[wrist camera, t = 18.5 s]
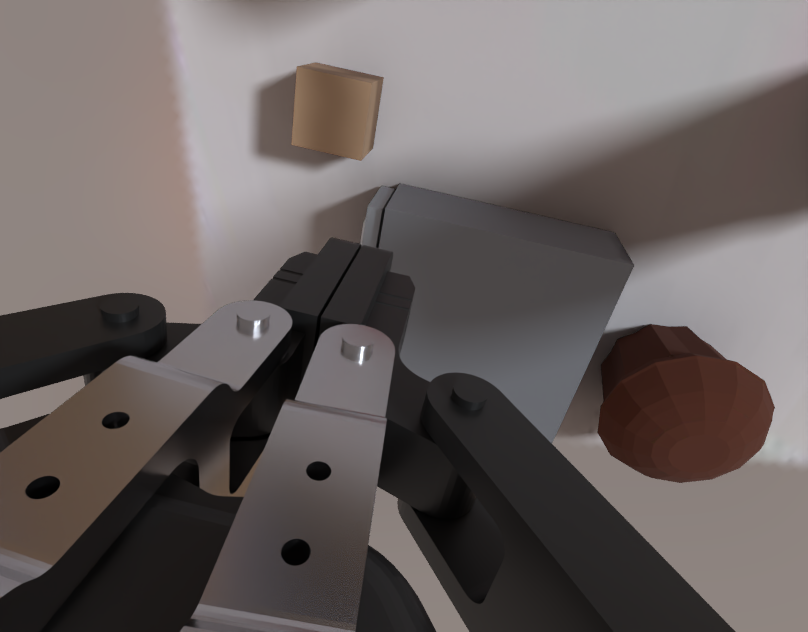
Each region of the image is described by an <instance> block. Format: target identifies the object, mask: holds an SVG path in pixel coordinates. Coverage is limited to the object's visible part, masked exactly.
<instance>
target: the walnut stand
mask: <svg viewBox="0 0 808 632" xmlns="http://www.w3.org/2000/svg"><path fill="white" fill-rule="evenodd" d="M382 84H383V77H379V76H374V75H370V74H365V73H361V72H356V71H352V70H347V69H343V68H338V67H334V66H329V65H325V64H320V63H311V64H307V65H302V66H297V71H296V86H295V100H294V115H293V129H292V144H291V145H294V146H299V147H303V148H307V149H312V150H316V151H321V152H325V153H329V154H334V155H338V156H343V157H347V158H351V159H356V160H360V161H361V160H362V159H363V158H364V157H365V156H366V155H367V154H368V153H369V152H370V151H371V150H372V149H373V144H374V138H375V131H376V124H377V118H378V111H379V104H380V98H381V91H382Z"/></svg>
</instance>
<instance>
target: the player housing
mask: <svg viewBox="0 0 808 632" xmlns="http://www.w3.org/2000/svg"><path fill="white" fill-rule="evenodd" d="M379 249H384V250H388V251H392V252H393V259H392V265H391V270H390V272H394V273H398V274H402V275H407V276H410V278H411V280H412V282H413V284H414V286H415V292H414V297H413V301H412V306H411V310H410V315H409V319H408V324H407V328H406V333H405V337H404V342H403V345H402V349H401V353H400V359H401V360H402V362H403V363H404V365H405V366H406V367H407V368H408V369H409V370H410V371H412V372H413V373H414V374H416V375H418V376H419V377H421V378H423V379H425V380H427V381H429V382H431V381H432V380H433V379H434V378H435V377H437V376H439V375H442V374H445V373H454V372H458V373H466V374H471V375H474V376H477V377H480V378H482V379H484V380H486V381H488V382H490V383H491V384H492V385H494V386H495V387H496V388H497V389H499V390H500V391H501V392H502V393H503V394H504V395H505V396H506V397H507V398H508V399H509V400H510V402H511V403H512V404H513V405H514V406H515V407H516V408H517V409H518V410H519V411H520V412H521V413H522V414H523V415H524V416H525V417H526V418H527V419H528V420H529V421H530V422H531V423H532V424H533V425H534V426H535V427H536V428H537V429H538V430H539V431H540V432H541V433H542V434H543V435H544V436H545V437H546V438H547V439H548V440H549V441H550V442H551V443H552V442H553V440H554V438H555V436H556V434H557V431H558V429H559V427H560V425H561V423H562V421H563V418H564V416H565V414H566V412H567V410H568V408H569V405H570V403H571V401H572V399H573V397H574V395H575V392H576V390H577V388H578V386H579V384H580V382H581V380H582V377H583V375H584V373H585V371H586V369H587V367H588V364H589V362H590V360H591V358H592V356H593V354H594V351H595V349H596V347H597V345H598V343H599V341H600V338H601V336H602V334H603V332H604V330H605V328H606V325H607V323H608V321H609V319H610V317H611V315H612V312H613V310H614V308H615V306H616V304H617V302H618V299H619V297H620V295H621V293H622V291H623V289H624V286H625V284H626V282H627V280H628V278H629V276H630V273H631V271H632V269H633V267H634V264H633V262H632V261H631V259H630V257H629V256H628V254H627V252H626V251H625V249H624V247H623V246H622V244H621V242H620V241H619V239H618V237H617V236H616V234H615V233H614V232H610V231H606V230H601V229H597V228H593V227H588V226H584V225H579V224H575V223H571V222H566V221H562V220H558V219H553V218H549V217H544V216H540V215H536V214H531V213H527V212H523V211H518V210H514V209H509V208H505V207H501V206H496V205H492V204H488V203H483V202H479V201H474V200H470V199H466V198H461V197H457V196H453V195H448V194H444V193H439V192H435V191H431V190H426V189H422V188H418V187H413V186H409V185H404V184H399V185H398V187H397V189H396V191H395V192H394V194H393V196H392V198H391V199H390V201H389V203H388V205H387V206H386V208H385V214H384V220H383V226H382V231H381V237H380V243H379Z"/></svg>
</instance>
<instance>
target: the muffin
mask: <svg viewBox="0 0 808 632" xmlns="http://www.w3.org/2000/svg"><path fill="white" fill-rule="evenodd" d="M601 372H602V385H603V398H604V402H603V404H602V405H601V409H600V417H599V426H598V434H599V436H600V437H601V439H602V441H603V443H604V444H605V446H606V448H607V450H608V452H609V453H610V455H611V456H613V457H615V458H616V459H618V460H620V461H621V462H623V463H625V464H626V465H628V466H629V467H631V468H633V469H634V470H636V471H638V472H640V473H642V474H644V475H646V476H649V477H651V478H655V479H661V480H668V481H673V482H679V483H682V482H692V481H701V480H710V479H713V478H716V477H718V476H721V475H723V474H726V473H728V472H731V471H733V470H736V469H738V468H740V467H741V466H742V465H743V464H745V463H746V462H747V461H748V460H749V459H750V458H751V457H753V456H754V455H755V454H756V453H757V452H758V451H759V450H760V449H761V448H762V446H763V445H764V442H765V439H766V436H767V434H768V431H769V428H770V425H771V422H772V416H773V411H774V408H775V407H774V404H773V402H772V399H771V396H770V394H769V391H768V388H767V386H766V383H765V381H764V380H763V379H761V378H760V377H758V376H757V375H755V374H754V373H752V372H751V371H749V370H748V369H746V368H745V367H743V366H742V365H740V364H739V363H737V362H734V361H730V360H727V359H725V358H724V357H723V356H722V355H721V354H720V353H719V352H718V351H716V350H715V349H714V348H713V347H712V346H711V345H709V344H708V343H706V342H704V341H703V340H701V339H700V338H699V337H698V336H697V335H696V334H695V333H693V332H692V331H691V330H690V329H689V328H688V327H687V326H682V327H667V326H660V325H653V324H650V325H648V326H646V327H644V328H642V329H641V330H639V331H637V332H635V333H633V334H630V335H628V336H625V337H622V338H620V339H617V341H616V343H615V345H614V347H613V349H612V351H611V353H610V354H609V355H608V356H607V358H606V359H605V360H604V361H603V363H602V364H601Z"/></svg>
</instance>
